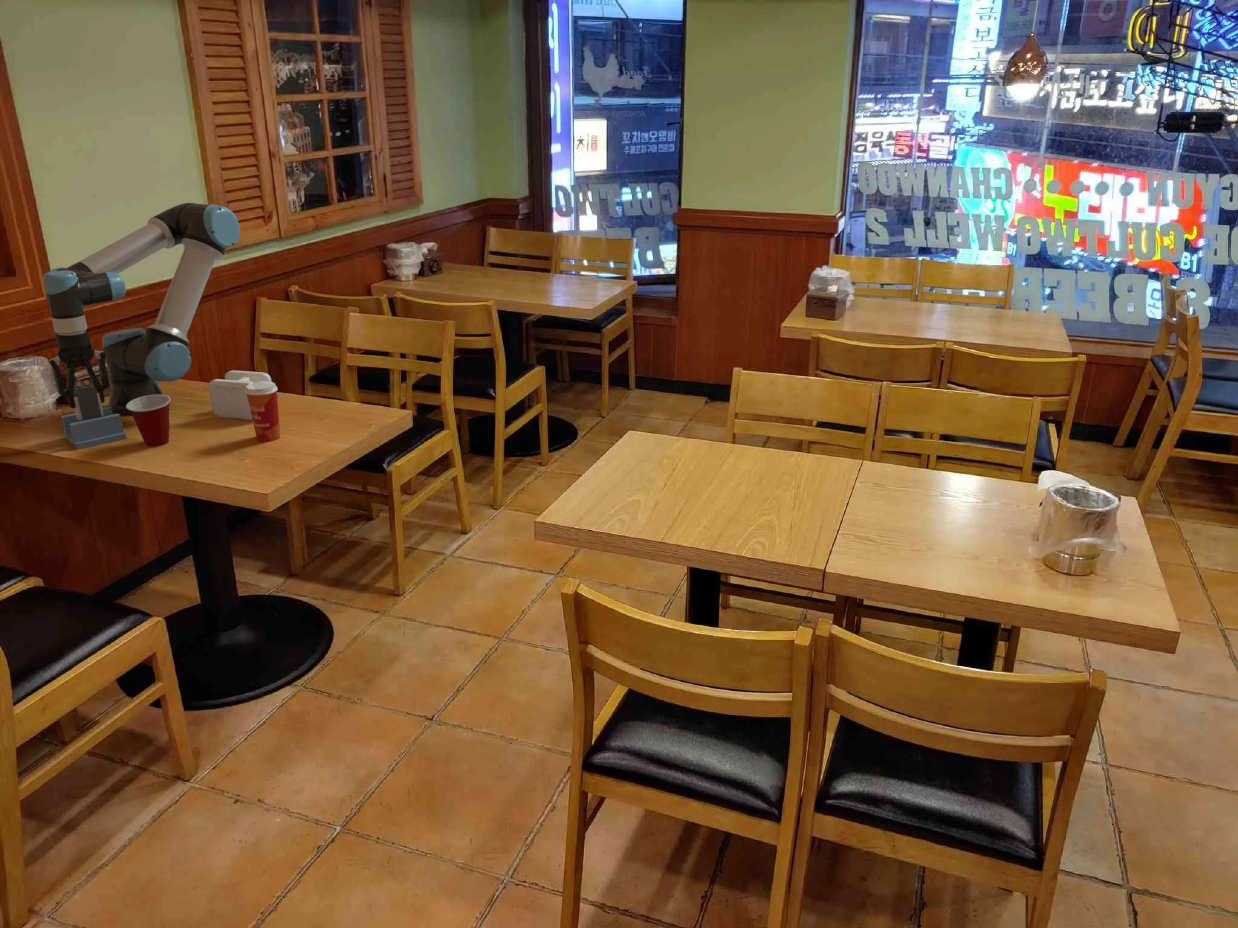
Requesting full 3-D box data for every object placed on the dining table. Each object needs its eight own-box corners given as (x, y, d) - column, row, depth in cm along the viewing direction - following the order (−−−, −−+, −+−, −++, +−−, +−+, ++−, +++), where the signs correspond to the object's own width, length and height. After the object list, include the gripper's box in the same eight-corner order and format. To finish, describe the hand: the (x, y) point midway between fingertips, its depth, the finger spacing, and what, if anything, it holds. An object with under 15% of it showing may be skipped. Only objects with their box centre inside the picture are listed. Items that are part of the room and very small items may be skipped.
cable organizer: (278, 410, 272) (273, 372, 268) (259, 422, 262) (253, 383, 258) (233, 407, 275) (226, 369, 270) (211, 418, 265) (205, 380, 261)
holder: (112, 427, 258) (108, 405, 255) (126, 438, 250) (121, 416, 247) (65, 437, 250) (59, 415, 248) (77, 449, 242) (72, 426, 240)
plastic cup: (125, 448, 243) (115, 405, 239) (153, 434, 253) (145, 393, 248) (160, 452, 241) (151, 409, 236) (187, 438, 250) (179, 396, 246)
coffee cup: (247, 437, 251) (238, 385, 245) (275, 430, 256) (267, 378, 251) (262, 445, 246) (253, 392, 240) (290, 437, 251) (283, 385, 245)
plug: (97, 414, 251) (89, 378, 247) (102, 418, 248) (94, 381, 244) (79, 417, 248) (70, 381, 244) (83, 421, 245) (75, 385, 241)
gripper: (104, 324, 247) (121, 406, 256) (29, 334, 236) (50, 420, 245) (112, 329, 242) (129, 413, 251) (36, 340, 231) (57, 427, 240)
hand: (90, 416), depth 248 cm, fingers closed on plug, 4 cm apart
